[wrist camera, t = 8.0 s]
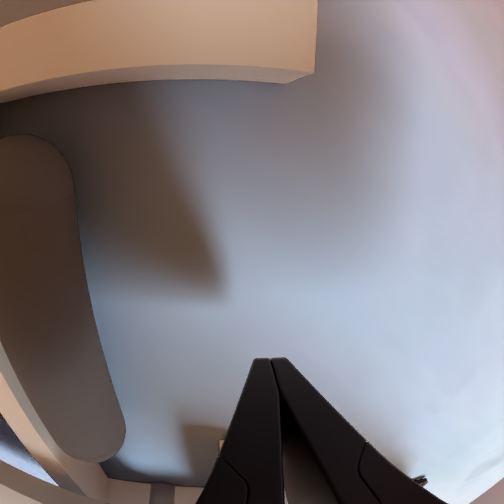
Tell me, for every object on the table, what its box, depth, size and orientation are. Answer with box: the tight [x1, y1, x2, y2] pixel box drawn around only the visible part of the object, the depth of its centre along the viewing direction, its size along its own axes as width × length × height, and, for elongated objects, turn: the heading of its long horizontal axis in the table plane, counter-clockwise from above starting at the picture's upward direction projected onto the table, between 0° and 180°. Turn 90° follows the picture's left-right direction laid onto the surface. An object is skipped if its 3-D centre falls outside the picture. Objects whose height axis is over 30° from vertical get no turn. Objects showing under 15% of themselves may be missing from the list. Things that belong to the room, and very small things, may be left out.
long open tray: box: [0, 0, 318, 504], centre depth 9 cm, size 23×10×3 cm, turn 177°
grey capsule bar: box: [0, 134, 126, 463], centre depth 8 cm, size 12×3×3 cm, turn 176°
